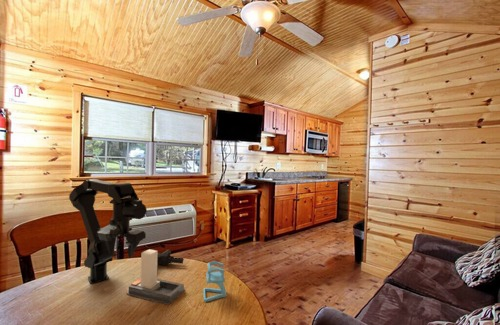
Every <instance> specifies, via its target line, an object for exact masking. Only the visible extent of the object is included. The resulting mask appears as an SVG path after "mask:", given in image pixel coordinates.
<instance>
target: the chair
mask: <svg viewBox="0 0 500 325" xmlns="http://www.w3.org/2000/svg"><path fill="white" fill-rule="evenodd" d="M214 265H218V266H214ZM206 266H207V272H206V273H205V275H206V276H205V277H206V284H216V285H218V287H219V288H214V287H213V288H211V287H204V288H203V302H204V303H206V302H207V303H208V302H210V301H213V300H214V301H215V300H217V299H220V298H225V297H227V292H226V286H225V285H224V283H226V279H225V278H226V277H225V271H226V269H223V267H224V263H223V262H219V261H216V260H214V261H210V262H208V263H207V264H206ZM219 266H220V267H219ZM206 292H211V293H219V294H216V295H213V296H209V297H207V296H206Z"/></svg>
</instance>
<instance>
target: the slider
mask: <svg viewBox="0 0 500 325" xmlns="http://www.w3.org/2000/svg"><path fill="white" fill-rule="evenodd" d="M158 253H159V252H158V250H155V249H150V248H149V249H147V250H144V251H142V252H141V253H140V254H141V255H140V256H141V257H140V258H141V259H140V261H141V262H140V278H141V283H140V284H139V285H137V286H138V287H143V288H147V289H151V290H156V289H158V288H159V287H160V281H157V279H158V264H157V254H158Z"/></svg>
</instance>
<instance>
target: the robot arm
mask: <svg viewBox="0 0 500 325" xmlns="http://www.w3.org/2000/svg"><path fill="white" fill-rule="evenodd" d="M99 192H100V193H104V194H107V196H108V197H109V198H112V199H111V200H109V203H110V204H112V218H111V219H109V222H108V223H109V224H107V225H106V226H104V227H101V225H100V222H99V219H98V216H97V214H96V211H95V208H94V205H95V202H96V196H97V195H98V193H99ZM68 199H69V201H70V202H71V205H72V207H73V208H75V209H76V210H78V211H79V213H80V216H81V219H82V222H83V224H84V228H85V231H86V234H87V237H88V239H89V242H90V243H89V247H88V250H87V252H88V256H87V257H86V258H85V259H84V261H83V264H84V268H88V269H89V271H90V272H89V276H87V279H88V281H89V284H90V285H92V284H96V283H100V282H103V281H107V280H109V279H110V276H109V275H108V274H107V273H108V272H107V270H108V268H107V267H108V265H107V264H108V263H110V262H112V261H113V259H114V256H115V246H116V241H117V237H123V238H125V240H126V242H125V244H126V245H127V249H128V250H127V251H128V253H127V254H128V259H131V258H132V257H133V255H134V253H135V252H136V249H137V247H138V245H139V244H140V243H141V242H142V241H143V240H145V239H147V238H146V236H147V234H146V233H147V232H146V231H145V230H139V229H138V230H137V229H136V230H133V227H130V221H133V219H134V220H141V219H143V218H144V217H145V216H146V215H147V210H148V209H147V207H146V205H145V204H144V203H143V200H141V199H139V197H138V194H137V192H136V191H135V188H134V187H133V185H132V183H131V182H120V183H119V182H117V183H114V182H111V181H109V182H108V181H104V180H101V179H100V180H99V179H97V178H92V179H86V180H84V181H83V182H82V183H81V184H79V185H77V186H76V187H74V188H73V190H72V191H71V192H69V195H68ZM132 230H133V231H132Z"/></svg>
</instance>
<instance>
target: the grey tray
mask: <svg viewBox="0 0 500 325" xmlns="http://www.w3.org/2000/svg"><path fill="white" fill-rule="evenodd" d="M157 281H160V287H159V288H158V289H156V290H151V289H147V288H143V287H138V286H137V285H139V284H140V283H141V277H140V278H138V279H137V280H135V281H133V282H132V283H131V284H130V285H129V286H128V291H127V292H126V295H128V296H132V297H136V298H140V299H143V300H147V301H151V302H155V303H159V304H164V305H166V306H167V305H168V306H169V305H170V304H172V302H174V301H175V300H176V299H177V298H178V297H179V296H180V295H181V294H182V293H183V292H185V290H186V288H185V284H184V283H178V282H175V281H170V280H166V279H162V278H157Z"/></svg>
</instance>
